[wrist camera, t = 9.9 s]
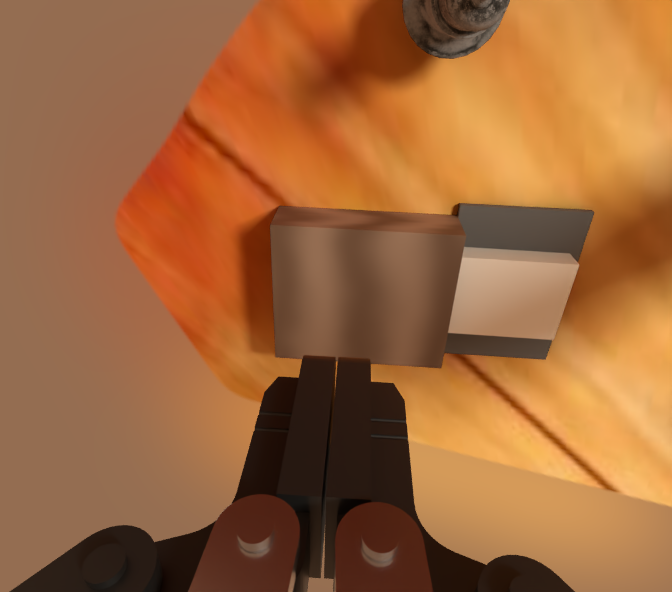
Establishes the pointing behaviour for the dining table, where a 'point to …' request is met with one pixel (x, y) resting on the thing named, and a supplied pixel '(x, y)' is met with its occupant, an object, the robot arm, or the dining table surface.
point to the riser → (364, 284)
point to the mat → (517, 234)
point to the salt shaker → (452, 24)
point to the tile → (512, 292)
